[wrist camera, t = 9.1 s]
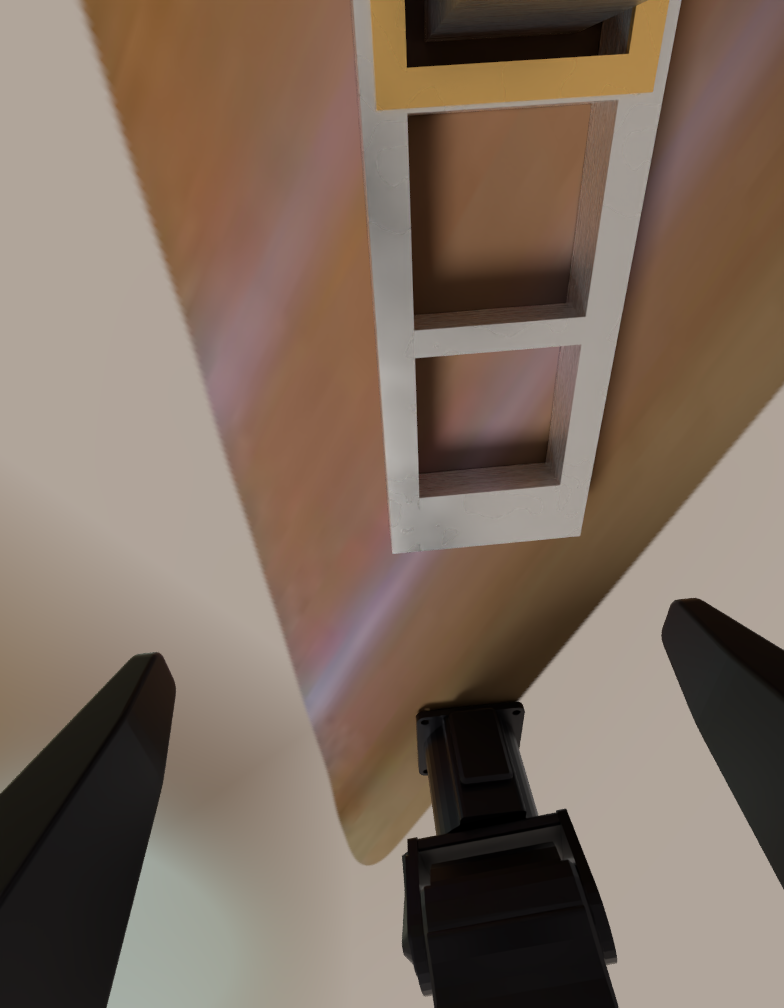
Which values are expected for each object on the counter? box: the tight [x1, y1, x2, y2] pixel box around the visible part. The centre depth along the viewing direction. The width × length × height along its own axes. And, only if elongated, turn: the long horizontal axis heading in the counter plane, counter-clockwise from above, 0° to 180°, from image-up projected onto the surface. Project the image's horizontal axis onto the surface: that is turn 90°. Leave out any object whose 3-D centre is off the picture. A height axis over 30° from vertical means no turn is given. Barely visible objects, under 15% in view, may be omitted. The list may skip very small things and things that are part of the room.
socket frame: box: [350, 0, 681, 554], centre depth 16 cm, size 24×8×2 cm, turn 3°
